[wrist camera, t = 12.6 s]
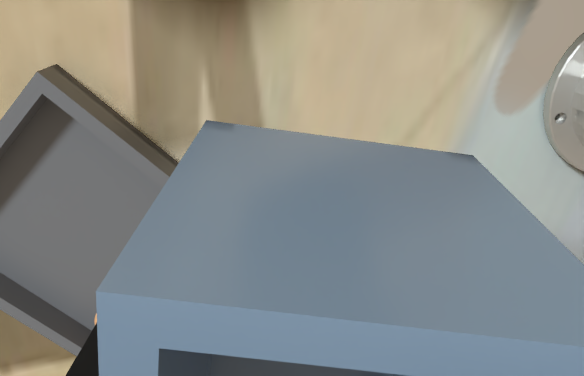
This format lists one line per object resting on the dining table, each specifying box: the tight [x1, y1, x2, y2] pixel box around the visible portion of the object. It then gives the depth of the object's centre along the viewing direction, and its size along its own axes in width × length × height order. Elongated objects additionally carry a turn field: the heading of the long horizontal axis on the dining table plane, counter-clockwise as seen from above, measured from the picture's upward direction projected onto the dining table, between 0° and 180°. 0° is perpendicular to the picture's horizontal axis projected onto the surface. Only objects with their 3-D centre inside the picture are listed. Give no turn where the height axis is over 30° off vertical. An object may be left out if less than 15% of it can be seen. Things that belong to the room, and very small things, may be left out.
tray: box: [0, 64, 179, 356], centre depth 37 cm, size 19×18×3 cm
